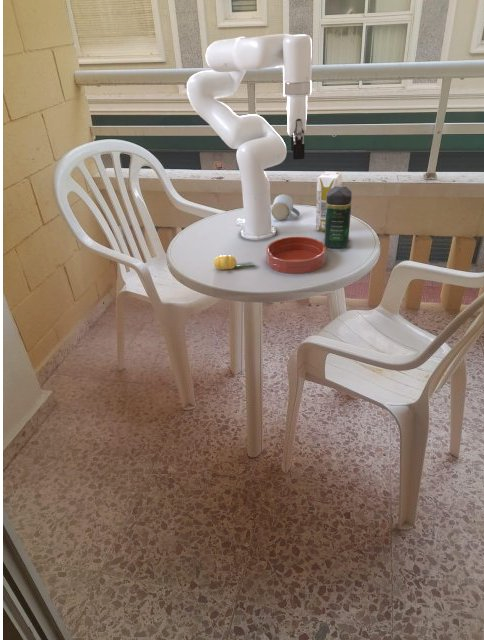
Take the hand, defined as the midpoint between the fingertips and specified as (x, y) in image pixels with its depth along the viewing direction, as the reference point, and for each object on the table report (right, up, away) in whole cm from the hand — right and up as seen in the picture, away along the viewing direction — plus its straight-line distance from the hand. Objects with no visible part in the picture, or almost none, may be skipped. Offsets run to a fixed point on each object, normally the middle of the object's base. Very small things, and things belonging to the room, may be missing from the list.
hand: (297, 154), depth 133 cm
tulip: (-19, -32, +9) cm, 38 cm away
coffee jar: (+15, -23, +19) cm, 33 cm away
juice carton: (+14, -15, +31) cm, 37 cm away
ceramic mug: (-1, -8, +42) cm, 42 cm away
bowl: (0, -30, +10) cm, 32 cm away
